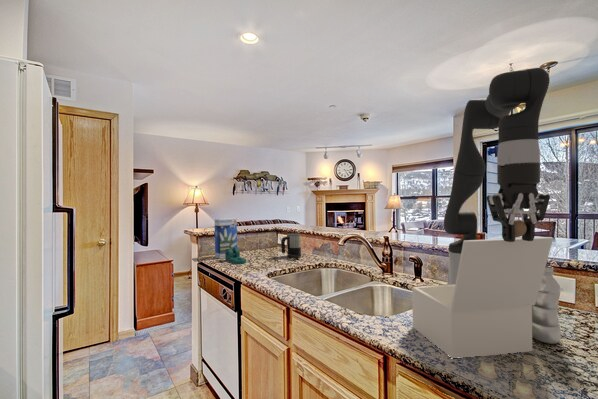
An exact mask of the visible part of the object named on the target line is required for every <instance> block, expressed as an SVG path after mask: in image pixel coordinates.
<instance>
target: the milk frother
mask: <svg viewBox="0 0 598 399" xmlns="http://www.w3.org/2000/svg"><path fill="white" fill-rule="evenodd" d="M286 241H287V256H288V257H289V258H294V259H296V260H298V259H301V257H302V243H301V242H302V234H301V233H288V234H287V236H283V237H282V238H281V240H280V247H281V253H282V254H285V253H286V244H285V243H286Z"/></svg>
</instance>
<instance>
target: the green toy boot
mask: <svg viewBox="0 0 598 399" xmlns="http://www.w3.org/2000/svg"><path fill="white" fill-rule="evenodd" d="M224 259H225V261H227V262H230V263H232V264H235V265H245V264H247V259H246V258H244V257H241V254H240V249H239V247H237V248H233V249H231V248H229V249H226V251H225V258H224Z"/></svg>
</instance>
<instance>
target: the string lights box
mask: <svg viewBox="0 0 598 399" xmlns="http://www.w3.org/2000/svg"><path fill="white" fill-rule="evenodd" d="M237 221H238V219H237V218H235V217H233V218H214V258H217V259H225V251H226V249H229V248H231V249H233V248H238V226H237V225H238V224H237V223H238V222H237Z"/></svg>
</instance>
